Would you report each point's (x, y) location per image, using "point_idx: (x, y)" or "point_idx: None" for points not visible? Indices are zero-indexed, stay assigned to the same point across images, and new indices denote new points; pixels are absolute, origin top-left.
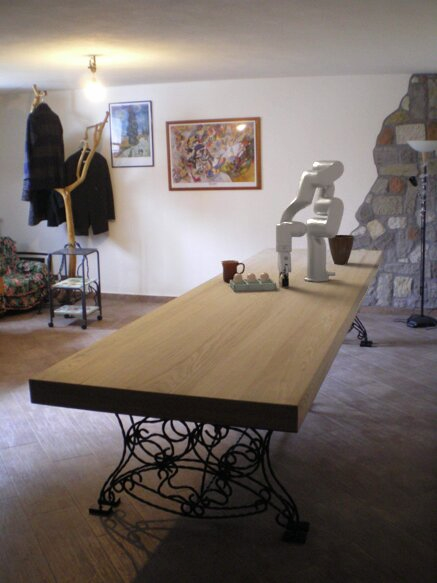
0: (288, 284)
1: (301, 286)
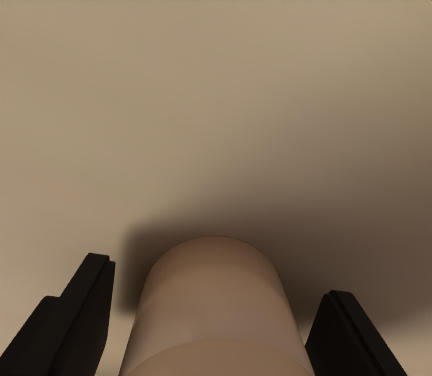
0: (363, 316)
1: (342, 22)
